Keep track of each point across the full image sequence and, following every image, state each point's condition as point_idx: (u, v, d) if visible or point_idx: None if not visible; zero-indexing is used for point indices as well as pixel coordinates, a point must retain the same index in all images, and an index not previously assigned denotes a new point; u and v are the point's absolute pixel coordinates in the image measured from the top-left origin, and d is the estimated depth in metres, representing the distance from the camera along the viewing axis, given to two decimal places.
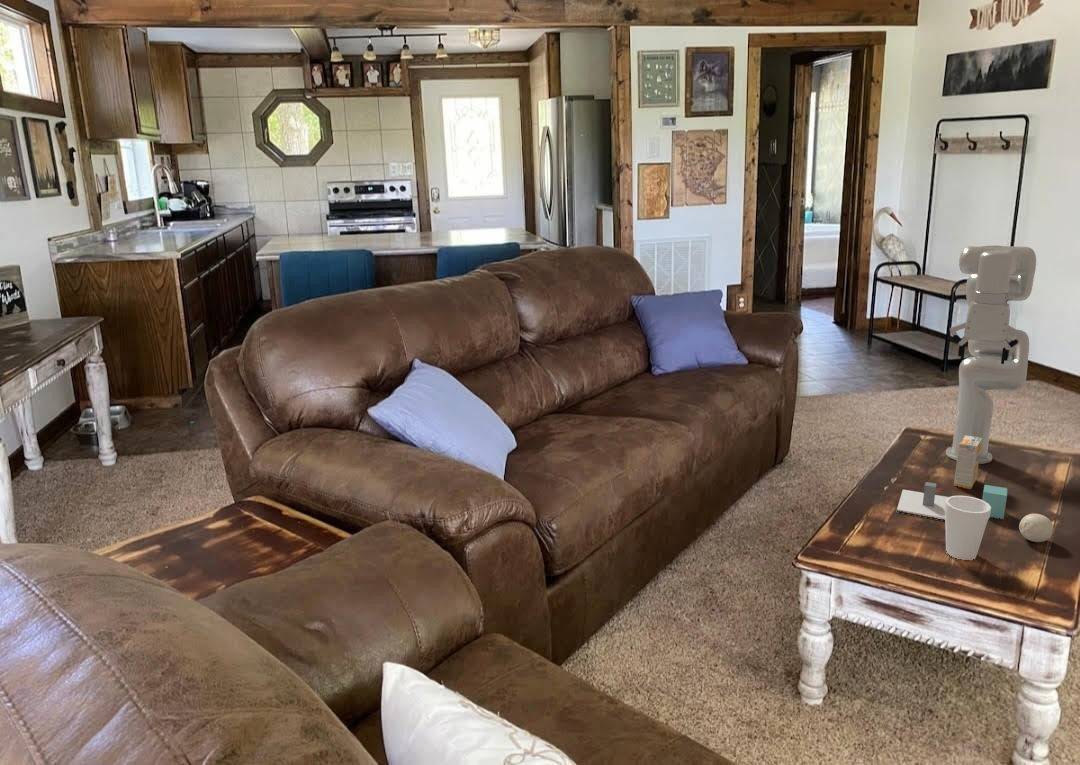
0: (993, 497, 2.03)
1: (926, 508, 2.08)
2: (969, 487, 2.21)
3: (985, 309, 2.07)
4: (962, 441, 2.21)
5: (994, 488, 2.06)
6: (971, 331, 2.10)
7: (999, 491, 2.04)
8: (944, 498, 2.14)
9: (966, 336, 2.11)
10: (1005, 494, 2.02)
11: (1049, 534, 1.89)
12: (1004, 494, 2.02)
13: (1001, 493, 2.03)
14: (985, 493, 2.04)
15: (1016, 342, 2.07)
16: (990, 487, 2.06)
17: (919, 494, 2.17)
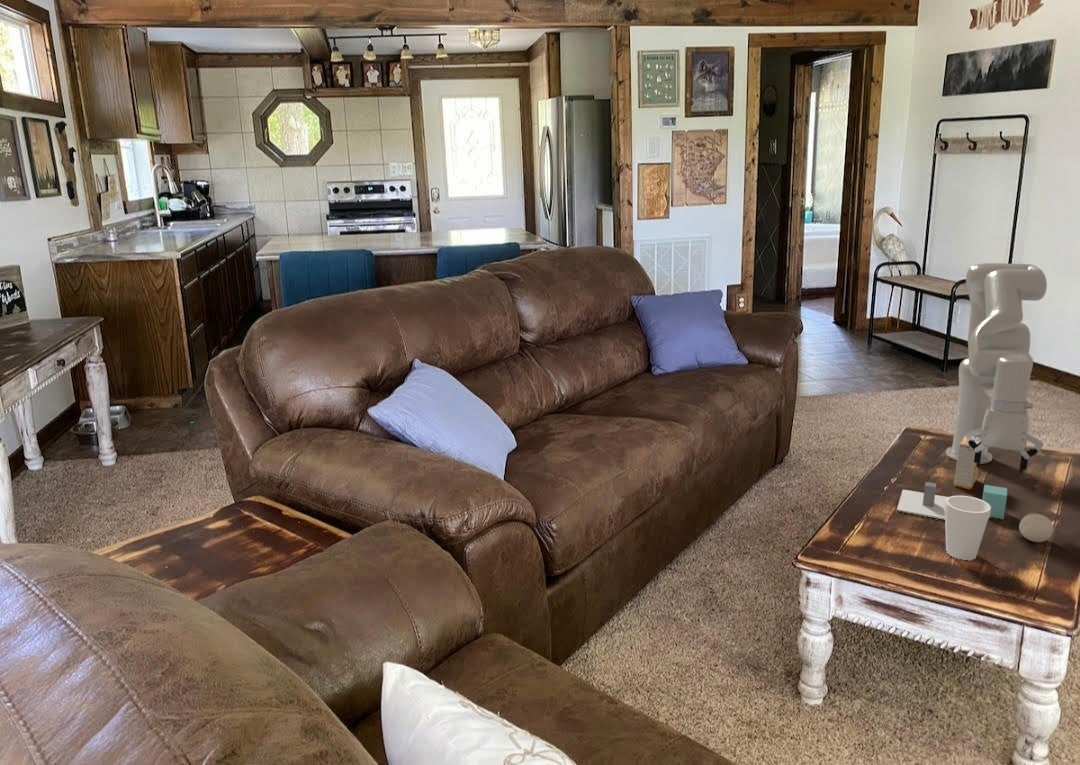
0: (993, 497, 2.03)
1: (926, 508, 2.08)
2: (969, 487, 2.21)
3: (1003, 417, 1.97)
4: (962, 441, 2.21)
5: (994, 488, 2.06)
6: (988, 438, 2.00)
7: (999, 491, 2.04)
8: (944, 498, 2.14)
9: (982, 443, 2.01)
10: (1005, 494, 2.02)
11: (1049, 534, 1.89)
12: (1004, 494, 2.02)
13: (1001, 493, 2.03)
14: (985, 493, 2.04)
15: (1035, 452, 1.97)
16: (990, 487, 2.06)
17: (919, 494, 2.17)
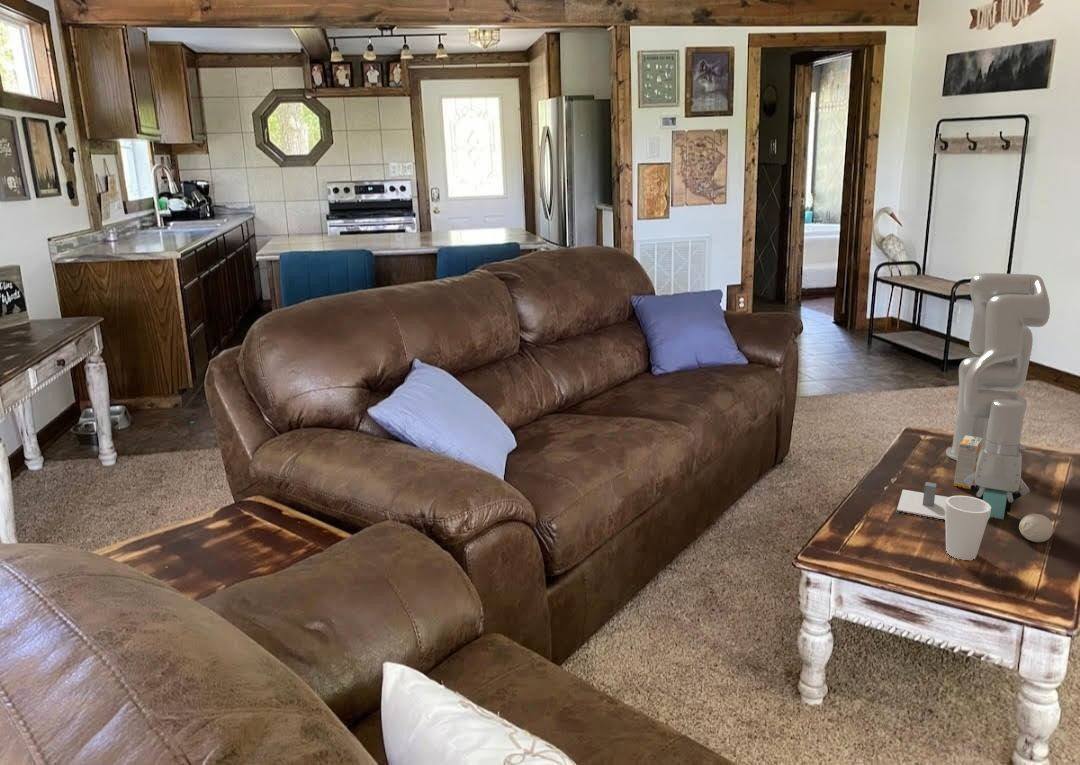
0: (993, 497, 2.03)
1: (926, 508, 2.08)
2: (969, 487, 2.21)
3: (997, 459, 2.00)
4: (962, 441, 2.21)
5: None
6: (982, 479, 2.04)
7: (999, 491, 2.04)
8: (944, 498, 2.14)
9: (976, 483, 2.05)
10: (1005, 494, 2.02)
11: (1049, 534, 1.89)
12: (1004, 494, 2.02)
13: (1001, 493, 2.03)
14: (985, 493, 2.04)
15: (1019, 495, 2.01)
16: None
17: (919, 494, 2.17)
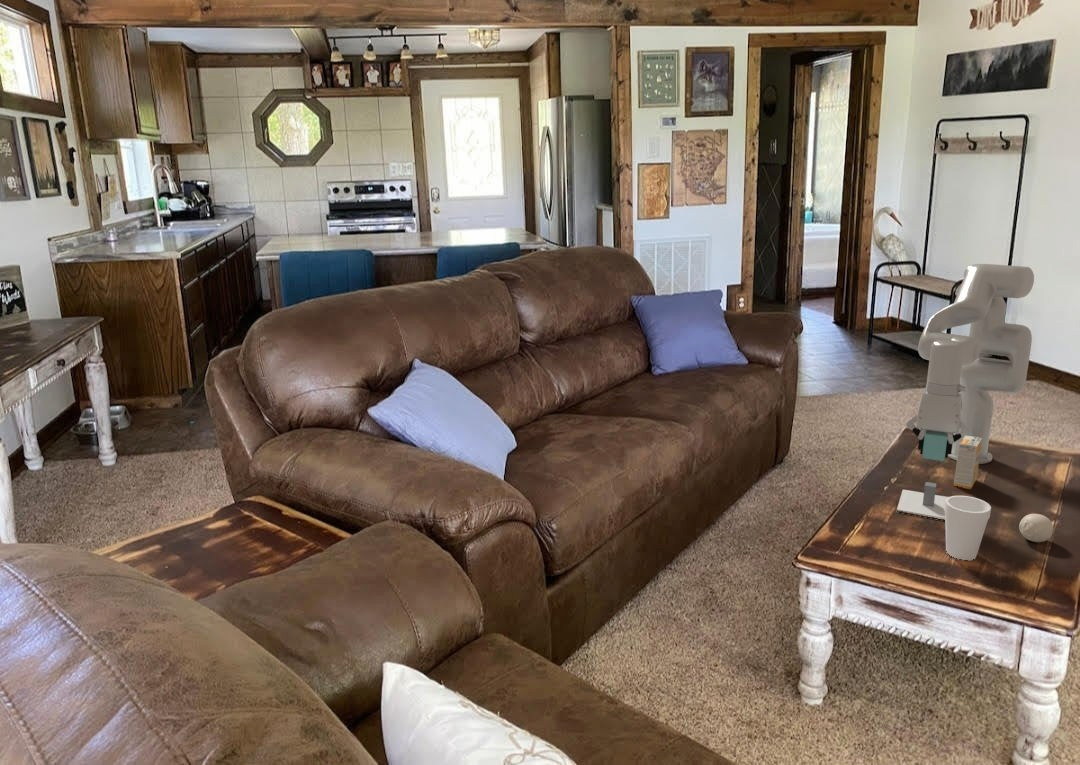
0: (934, 439, 2.03)
1: (926, 508, 2.08)
2: (969, 487, 2.21)
3: (937, 400, 2.01)
4: (962, 441, 2.21)
5: (936, 431, 2.06)
6: (923, 421, 2.04)
7: (940, 433, 2.04)
8: (944, 498, 2.14)
9: (918, 425, 2.05)
10: (945, 436, 2.02)
11: (1049, 534, 1.89)
12: (945, 436, 2.02)
13: (942, 435, 2.03)
14: (926, 435, 2.04)
15: (959, 437, 2.02)
16: None
17: (919, 494, 2.17)
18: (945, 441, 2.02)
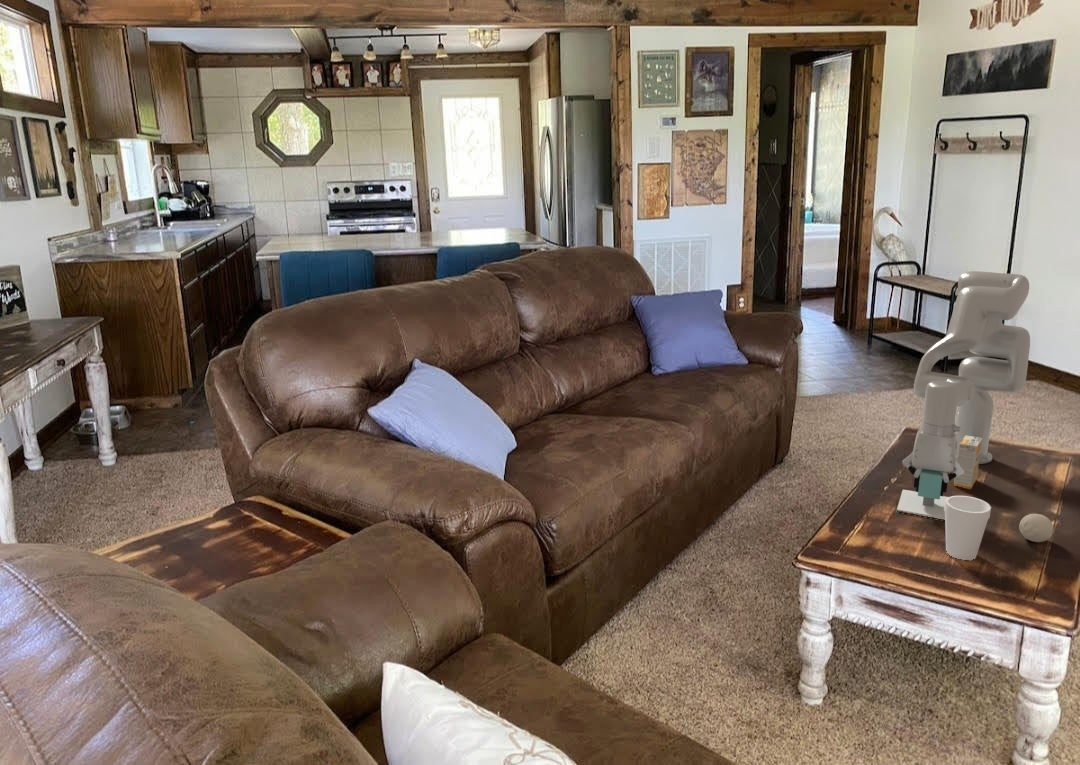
0: (929, 478, 2.06)
1: (926, 508, 2.08)
2: (969, 487, 2.21)
3: (932, 439, 2.04)
4: (962, 441, 2.21)
5: None
6: (918, 460, 2.07)
7: (935, 472, 2.07)
8: (944, 498, 2.14)
9: (914, 464, 2.08)
10: (941, 475, 2.06)
11: (1049, 534, 1.89)
12: (940, 475, 2.06)
13: (937, 474, 2.06)
14: (922, 474, 2.07)
15: (954, 476, 2.05)
16: None
17: None
18: (940, 480, 2.05)
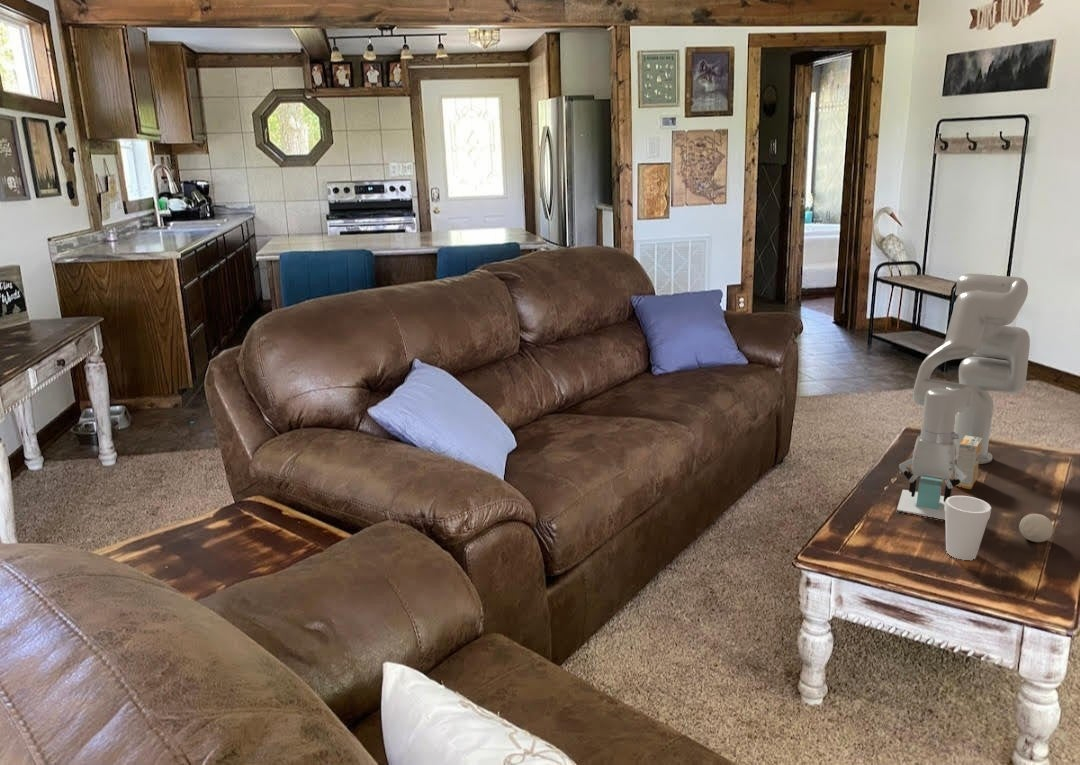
0: (928, 488, 2.07)
1: (926, 508, 2.08)
2: (969, 487, 2.21)
3: (931, 447, 2.04)
4: (962, 441, 2.21)
5: (930, 479, 2.10)
6: (918, 467, 2.08)
7: (934, 482, 2.08)
8: None
9: (913, 471, 2.09)
10: (939, 485, 2.07)
11: (1049, 534, 1.89)
12: (938, 485, 2.07)
13: (935, 484, 2.07)
14: (920, 484, 2.08)
15: (958, 482, 2.05)
16: (926, 478, 2.11)
17: None
18: (939, 490, 2.06)
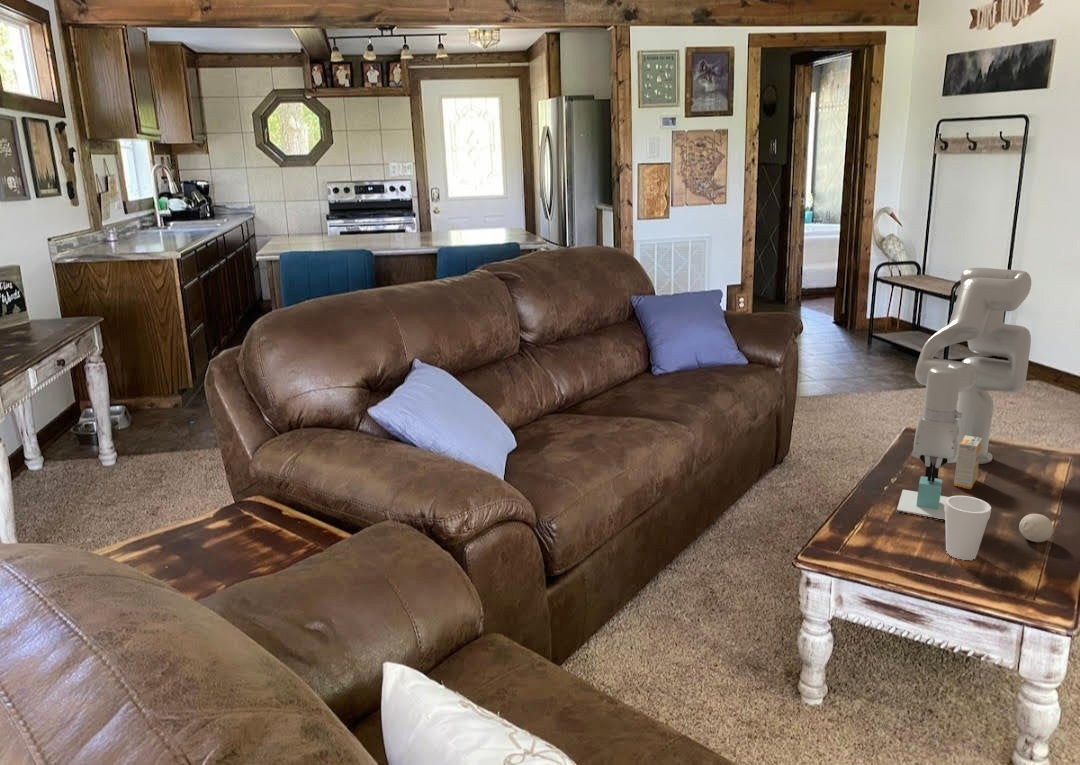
0: (928, 488, 2.07)
1: (926, 508, 2.08)
2: (969, 487, 2.21)
3: (934, 426, 2.03)
4: (962, 441, 2.21)
5: None
6: (920, 446, 2.06)
7: (934, 482, 2.08)
8: (944, 498, 2.14)
9: (915, 451, 2.07)
10: (939, 485, 2.07)
11: (1049, 534, 1.89)
12: (938, 485, 2.07)
13: (935, 484, 2.07)
14: (920, 484, 2.08)
15: (945, 461, 2.05)
16: (926, 478, 2.11)
17: None
18: (939, 490, 2.06)
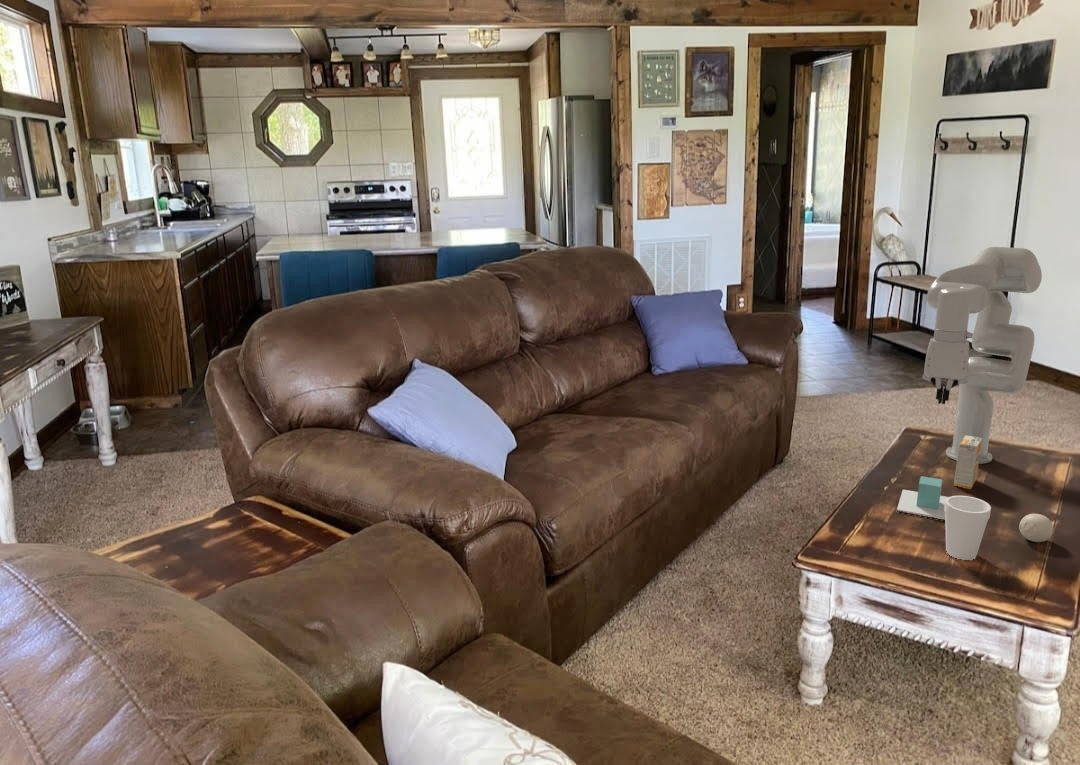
0: (928, 488, 2.07)
1: (926, 508, 2.08)
2: (969, 487, 2.21)
3: (945, 347, 2.04)
4: (962, 441, 2.21)
5: (930, 479, 2.10)
6: (931, 368, 2.07)
7: (934, 482, 2.08)
8: (944, 498, 2.14)
9: (926, 373, 2.08)
10: (939, 485, 2.07)
11: (1049, 534, 1.89)
12: (938, 485, 2.07)
13: (935, 484, 2.07)
14: (920, 484, 2.08)
15: (956, 383, 2.06)
16: (926, 478, 2.11)
17: None
18: (939, 490, 2.06)
